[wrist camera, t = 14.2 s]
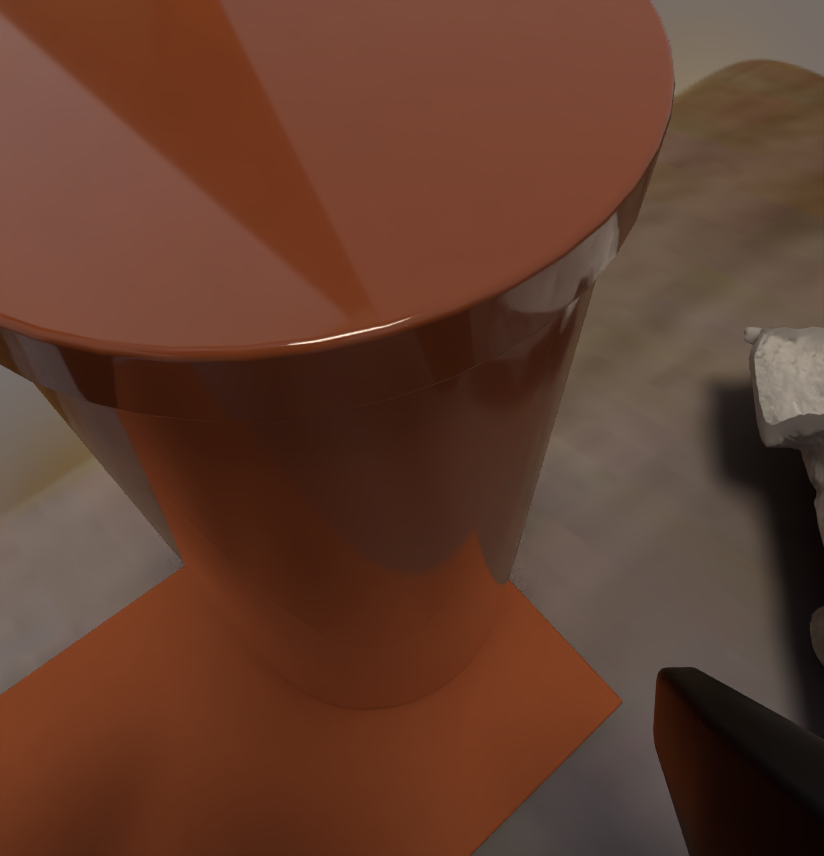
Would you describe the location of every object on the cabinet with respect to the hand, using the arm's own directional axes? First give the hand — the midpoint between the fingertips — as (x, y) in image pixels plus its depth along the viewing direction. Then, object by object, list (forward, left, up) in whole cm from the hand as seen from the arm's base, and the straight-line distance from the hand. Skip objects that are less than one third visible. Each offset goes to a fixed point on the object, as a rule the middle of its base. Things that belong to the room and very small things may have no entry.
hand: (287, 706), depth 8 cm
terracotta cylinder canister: (+3, +3, -7) cm, 9 cm away
